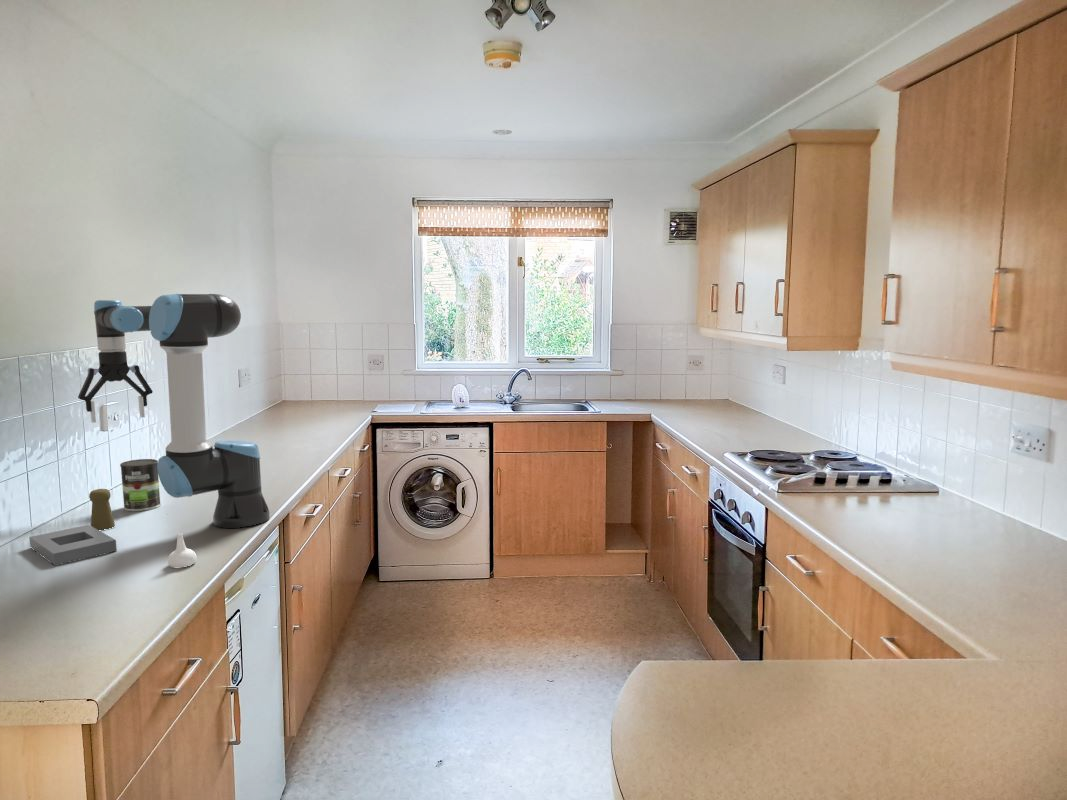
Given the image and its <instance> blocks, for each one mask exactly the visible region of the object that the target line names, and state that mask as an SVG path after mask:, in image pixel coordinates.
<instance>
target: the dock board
mask: <svg viewBox="0 0 1067 800" xmlns="http://www.w3.org/2000/svg"><path fill="white" fill-rule="evenodd" d="M29 547H32V548H33V549H34V550H35V551H37V552H38V553H39V554H41V555H42V556H44V557H45V558H46V559H48V560H49V561H50V562H51V563H50V562H49V561H48V560H47V561H48V562H49V563H50V564H52V563H53V564H54V565H53V564H52V565H53V566H55V565H56V566H58V565H57V564H60V565H62V564H61V563H64V564H66V563H65V562H69V561H73V562H75V561H74V560H77V561H80V560H79V559H81V560H84V559H83V558H86V559H89V558H88V557H90V558H93V557H92V556H94V557H97V556H96V555H99V556H101V555H100V554H103V555H105V554H104V553H107V554H109V553H108V552H111V553H113V552H112V551H116V550H118V549H117V539H115V538H113V537H112V536H109V535H107V534H106V533H104V531H99V530H97V529H95V528H94V527H92V526H91V524H86V525H80V526H76V527H71V528H66V529H62V530H57V531H52V532H51V531H50V532H47V533H41V534H38V535H33V536H29ZM34 550H33V551H34ZM35 551H34V552H35ZM37 552H36V553H37ZM116 552H117V551H116ZM38 553H37V554H38ZM39 554H38V555H39ZM41 555H40V556H41ZM42 556H41V557H42ZM45 558H44V559H45ZM46 559H45V560H46ZM69 563H70V562H69Z"/></svg>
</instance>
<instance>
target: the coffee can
mask: <svg viewBox="0 0 1067 800" xmlns="http://www.w3.org/2000/svg"><path fill="white" fill-rule="evenodd" d="M157 464H158V460H157V459H154V458H153V459H152V458H139V459H132V460H128V461H123V462H120V470H121V471H120V473H121V474H120V475H121V484H122V497H123V510H125V511H126V512H144V511H143V510H145V511H150V509H151V510H154V509H158V508H159V507H161V505H162V503H161V493H160V492H161V491H160V478H159V475H158V469H157Z"/></svg>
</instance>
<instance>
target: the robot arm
mask: <svg viewBox="0 0 1067 800" xmlns="http://www.w3.org/2000/svg"><path fill="white" fill-rule="evenodd" d="M93 304H94V305H93V307H94V308H93V314H94V320H95V328H96V331H95V332H96V340H97V341H96V342H97V350H98V351H99V352H98V353H97V354H98V362H99V363H98V364H99V365H98V366H99V367H98V368H93V367H88V369H87V376H86V378H85V381H84V383H83V385H82V387H81V389H80V392H79V393H78V396H77V398H78V400H81V401H84V402H85V409H86V412H88V413H90V422H91V423H93V424H95V423H97V418H96V409H95V401H94V400H92V399H94V398H95V396H96V394H97V393H98V392H99V391H100V389H102V387H103V385H105V384H106V383H107V382H110V383H111V382H112V383H113V382H115V381H116V382H121V381H125V382H126V383H127V384H128V385H129V386H130V387H131V388H132V389H134V390H135V391H136V392H137V393H138V394H139V395H138V396H137V399H138V411H139V418H142V419H143V418H145V407H147V406H148V398H147V397H148V395H151V394H153V390H152V388H151V386H150V385H149V384H148V382H147V380H146V379H145V377H144V376H143V375H142V373H141V369H140V366H139V365H137V364H133V365H131V366H129V365H128V357H127V351H126V349H127V347H126V335H125V334H126V333H133V332H150V335H151V336H152V338H153V339H154V340H155V341H158V342H159V347H160V348H161V349H162V350H163V351H165V353H166V365H167V366H166V367H167V369H166V370H167V383H168V386H167V387H168V403H169V404H168V405H169V406H168V407H169V420H170V422H169V423H170V424H169V425H170V440H171V441H170V443H169V444H167V445H166V446H165V455H163V456H161V457H160V458H158V460H157V461H158V464H157V469H158V477H159V482H160V483H161V486H162V487H163V489H164V491H165V492H166V493H167V494H168V495H169V496H170V497H172V498H175V499H176V498H177V499H178V498H185V497H188V498H190V497H192V496H197V495H201V494H206V493H210V492H211V493H212V492H216V491H217V493H218V495H217V497H218V498H217V500H216V504H215V508H214V512H213V517H212V518H213V520H212V521H213V525H214V526H215V525H216V526H215V527H217V526H218V528H222V527H223V528H222V529H224V528H225V529H239V528H240V527H242V528H247V527H246V526H249V527H252V526H251V525H254V526H257V525H256V524H258V525H260V524H259V523H261V524H264V523H266V522H267V521H269V519H270V508H269V507H268V504H267V501H266V500H265V497H264V495H263V491H262V476H261V474H262V473H261V455H260V450H259V447H258V445H257V443H254V442H252V441H246V440H245V441H243V440H220V441H215V442H214V445H213V443H211V442H210V441H209V440H208V439H207V430H206V412H205V411H206V410H205V407H206V406H205V387H204V386H205V385H204V369H203V368H204V366H203V351H204V350H205V349H206V348H207V347H208V346H209V341H208V340H209V339H208V338H217V337H223V336H226V335H229V334H231V333H232V332H234V331H235V330H236V329H237V328H238V327H239V325H240V322H241V318H242V314H241V309H240V308H239V305H238V304H237V303H236V301H234V300H233V299H231V297H229V296H226V295H222V294H219V293H218V294H217V293H207V294H206V293H172V294H163V295H160V296H158V297H157V298H156V299H155V300H154V301H153V303H152V305H123V303H122V301H121V300H120V299H105V300H103V299H99V300H96V301H94V303H93ZM129 372H132V373H134V375H135V376H136V378H137V379H138V382H139V383H140V384H141V386H142V388H141V386H139V385H138V384H137V383H136V382H134V380H132V379H131V377H130V376H128V374H129ZM98 373H99V374H100V375H101V376H100V378H99V379H98V381H97V382H96V384H95V385H94V386H93V387H92V388H91V390H90V391H89V392H88V390H89V388H90V386H91V384H92V382H93V380H94V376H96V375H97V374H98ZM143 389H144V390H143ZM87 392H88V394H87ZM213 447H214V448H213ZM265 521H266V522H265ZM263 522H264V523H263Z"/></svg>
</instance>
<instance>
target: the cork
mask: <svg viewBox="0 0 1067 800" xmlns="http://www.w3.org/2000/svg"><path fill="white" fill-rule="evenodd" d="M88 495H89V496H88V497H89V500H90V502H91V518H90V526H92V527H94V528H95V529H97V530H103V531H105V530H104V529H108V530H110V529H109V528H111V529H113V528H112V527H114V526H115V527H116V523H115V521H114V516H113V515H114V514H113V511H112V508H111V504H110V499H111V497H112V495H111V491H110V490H109V489H107V488H97V489H95V490H94V489H93V490H91V491H90V493H89V494H88ZM115 527H114V528H115Z"/></svg>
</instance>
